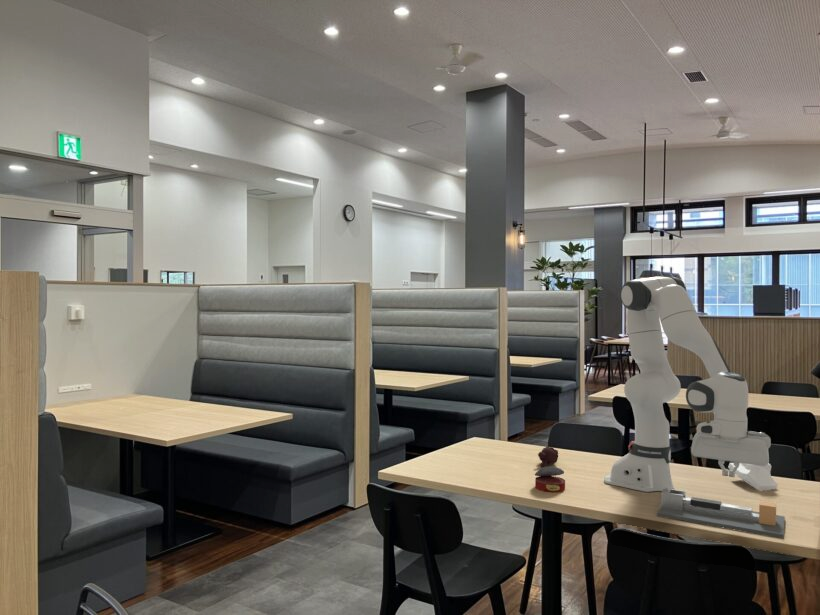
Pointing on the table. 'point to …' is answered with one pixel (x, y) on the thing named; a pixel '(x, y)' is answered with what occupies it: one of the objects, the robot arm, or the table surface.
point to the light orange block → (767, 512)
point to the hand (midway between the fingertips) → (728, 476)
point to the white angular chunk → (755, 475)
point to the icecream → (548, 456)
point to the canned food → (549, 480)
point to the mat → (726, 521)
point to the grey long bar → (675, 501)
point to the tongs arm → (716, 505)
